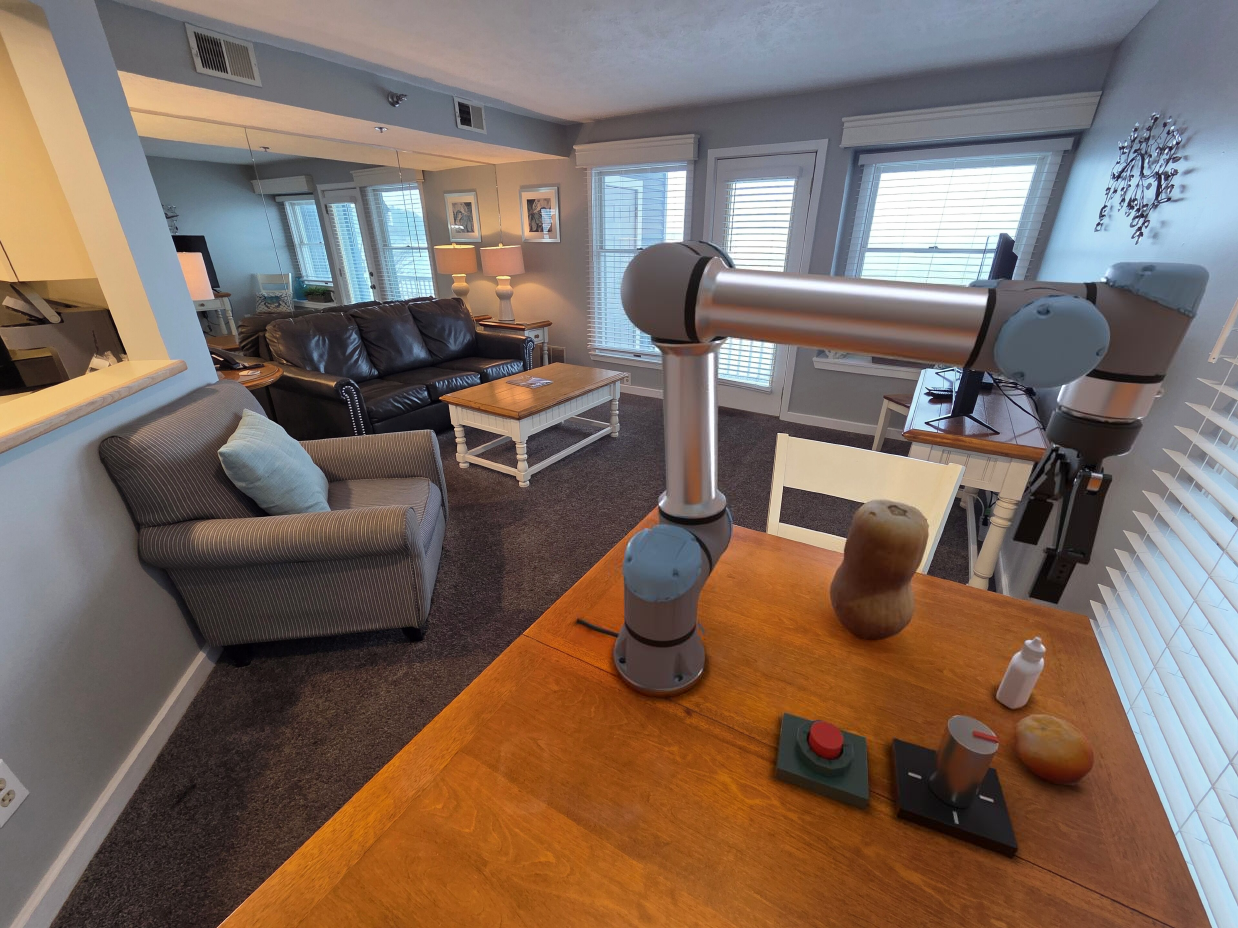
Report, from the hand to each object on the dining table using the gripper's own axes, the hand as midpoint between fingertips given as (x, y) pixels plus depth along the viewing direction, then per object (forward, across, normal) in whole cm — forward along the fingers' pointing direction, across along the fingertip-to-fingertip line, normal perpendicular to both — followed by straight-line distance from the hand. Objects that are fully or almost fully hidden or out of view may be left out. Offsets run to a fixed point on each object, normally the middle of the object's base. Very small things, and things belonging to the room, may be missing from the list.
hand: (1032, 568), depth 65 cm
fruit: (+26, -6, -8) cm, 28 cm away
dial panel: (+26, -17, +4) cm, 31 cm away
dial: (+24, -17, +4) cm, 30 cm away
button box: (+26, -20, +19) cm, 38 cm away
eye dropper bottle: (+26, +5, -5) cm, 27 cm away
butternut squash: (+26, +10, +16) cm, 33 cm away
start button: (+22, -20, +19) cm, 35 cm away
